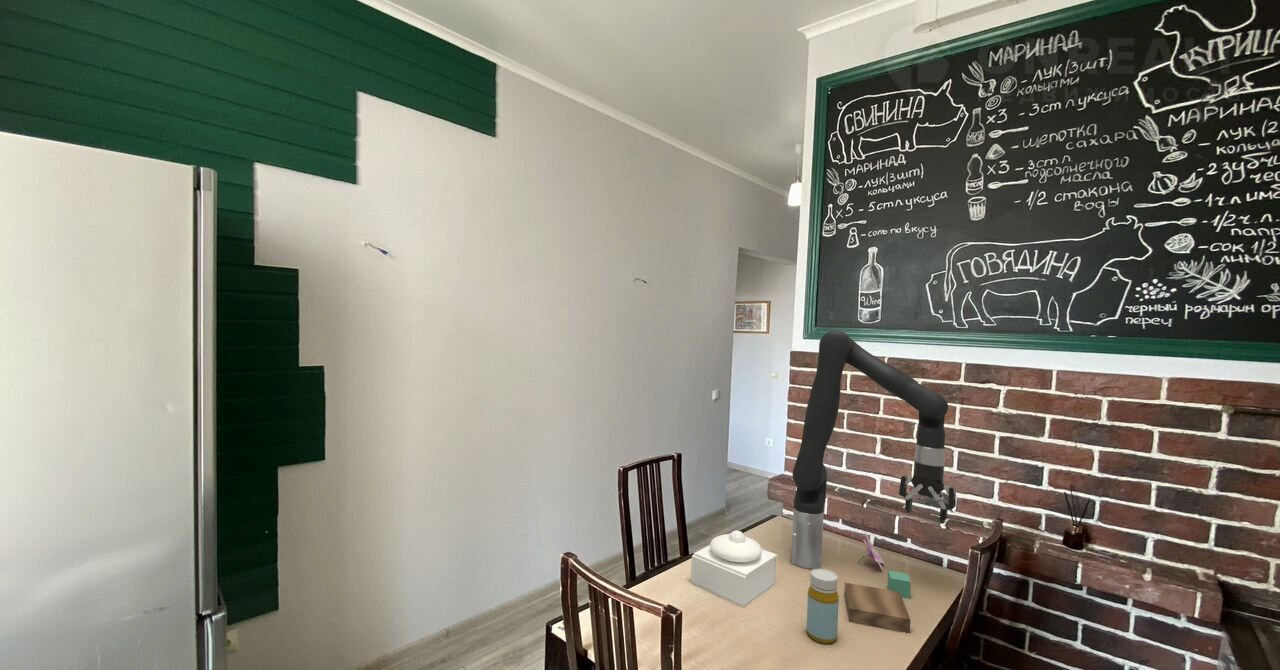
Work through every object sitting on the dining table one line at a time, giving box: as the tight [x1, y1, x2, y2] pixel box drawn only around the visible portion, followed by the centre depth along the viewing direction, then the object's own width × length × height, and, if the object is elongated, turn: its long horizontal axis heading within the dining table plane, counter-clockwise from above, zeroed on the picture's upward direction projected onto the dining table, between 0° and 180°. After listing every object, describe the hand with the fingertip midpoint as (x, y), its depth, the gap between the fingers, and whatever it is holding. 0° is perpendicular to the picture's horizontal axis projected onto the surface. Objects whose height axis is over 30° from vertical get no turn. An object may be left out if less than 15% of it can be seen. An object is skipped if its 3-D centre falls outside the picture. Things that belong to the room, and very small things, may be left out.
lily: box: [856, 529, 885, 572], centre depth 160 cm, size 12×12×10 cm
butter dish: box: [690, 530, 778, 608], centre depth 146 cm, size 18×18×16 cm
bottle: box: [806, 568, 840, 645], centre depth 122 cm, size 7×7×15 cm
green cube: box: [886, 570, 912, 600], centre depth 144 cm, size 5×5×5 cm
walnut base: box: [843, 582, 911, 634], centre depth 133 cm, size 14×14×4 cm
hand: (925, 516), depth 146 cm, fingers open, 8 cm apart
